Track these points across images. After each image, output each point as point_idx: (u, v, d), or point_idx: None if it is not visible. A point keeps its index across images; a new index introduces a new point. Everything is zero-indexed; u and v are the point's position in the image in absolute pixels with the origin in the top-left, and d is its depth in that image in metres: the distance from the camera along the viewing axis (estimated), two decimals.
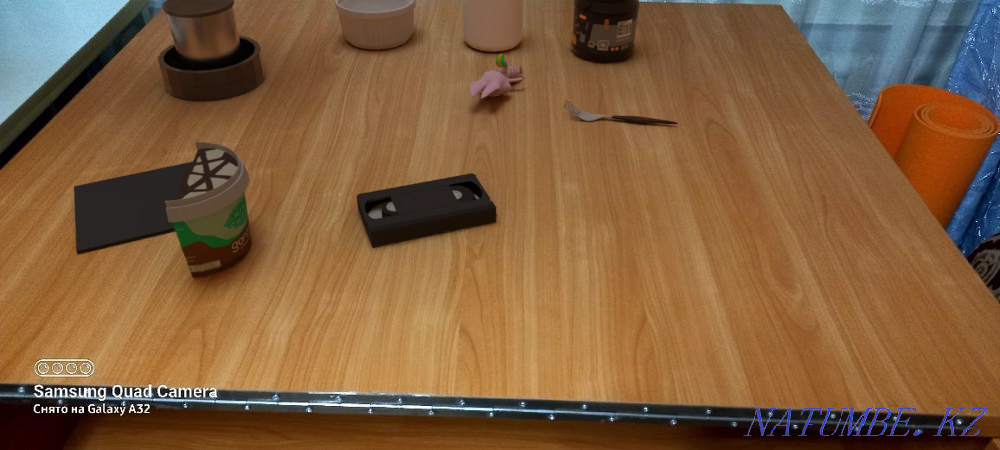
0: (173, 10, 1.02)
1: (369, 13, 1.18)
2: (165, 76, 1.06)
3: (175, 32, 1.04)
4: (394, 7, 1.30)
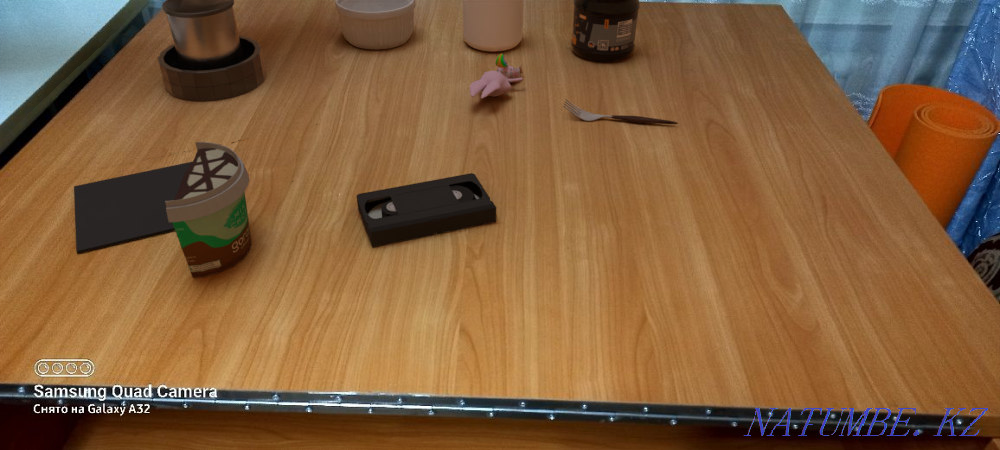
0: (173, 10, 1.02)
1: (369, 13, 1.18)
2: (165, 76, 1.06)
3: (175, 32, 1.04)
4: (394, 7, 1.30)
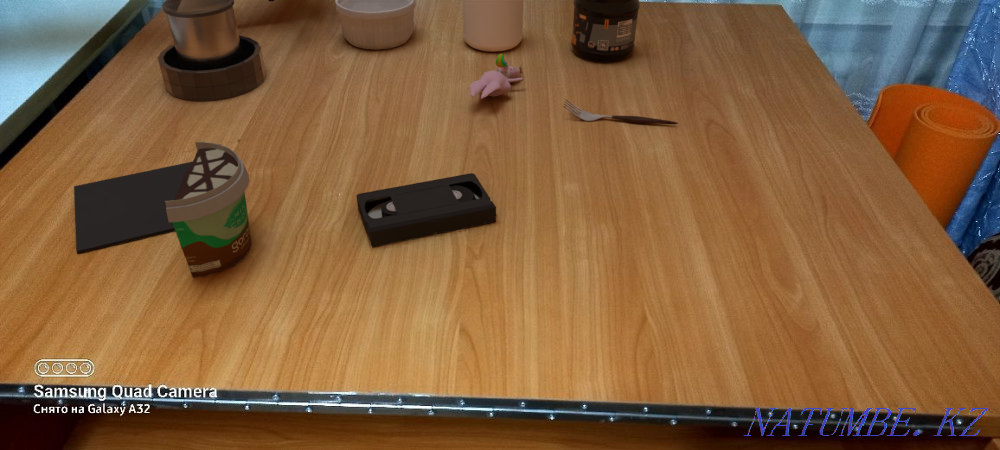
0: (173, 10, 1.02)
1: (369, 13, 1.18)
2: (165, 76, 1.06)
3: (175, 32, 1.04)
4: (394, 7, 1.30)
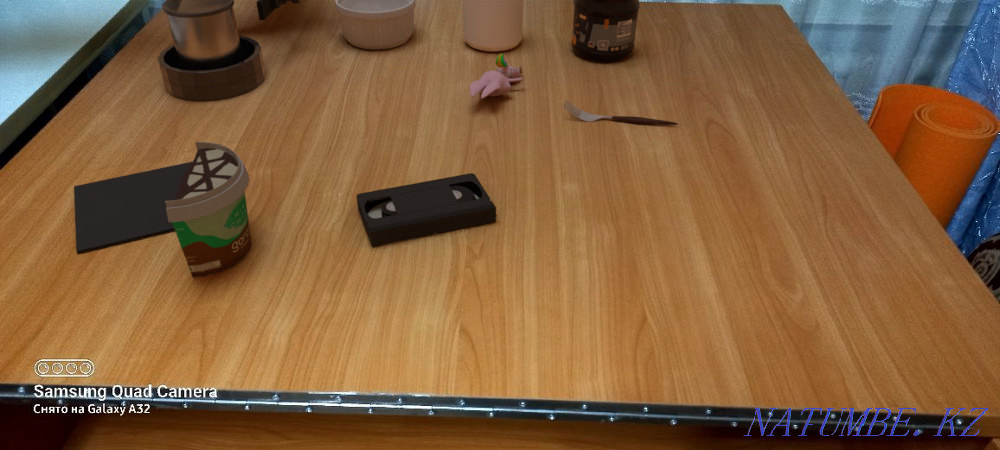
0: (173, 10, 1.02)
1: (369, 13, 1.18)
2: (165, 76, 1.06)
3: (175, 32, 1.04)
4: (394, 7, 1.30)
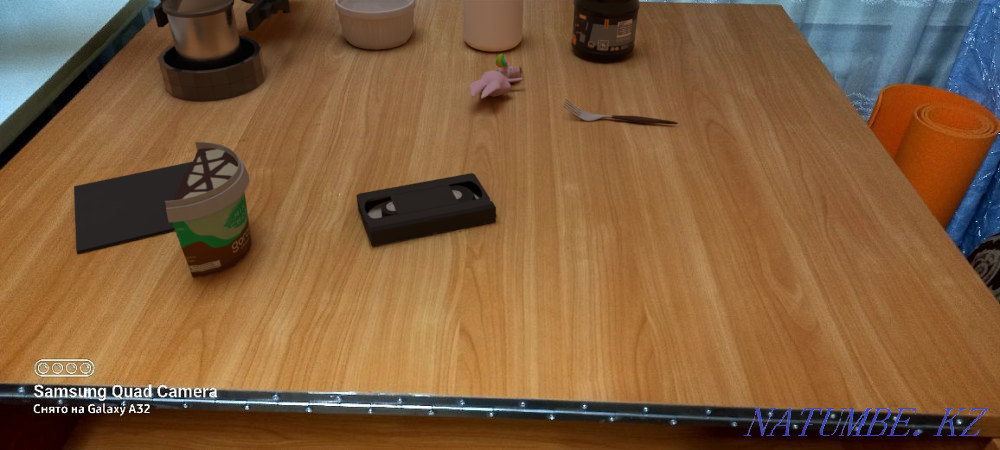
0: (173, 10, 1.02)
1: (369, 13, 1.18)
2: (165, 76, 1.06)
3: (175, 32, 1.04)
4: (394, 7, 1.30)
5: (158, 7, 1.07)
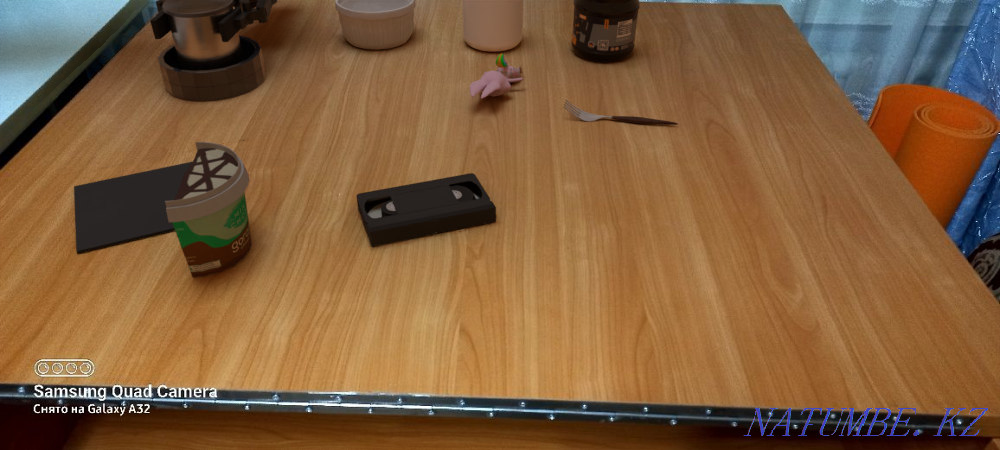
0: (173, 10, 1.02)
1: (369, 13, 1.18)
2: (165, 76, 1.06)
3: (175, 32, 1.04)
4: (394, 7, 1.30)
5: (155, 18, 1.03)
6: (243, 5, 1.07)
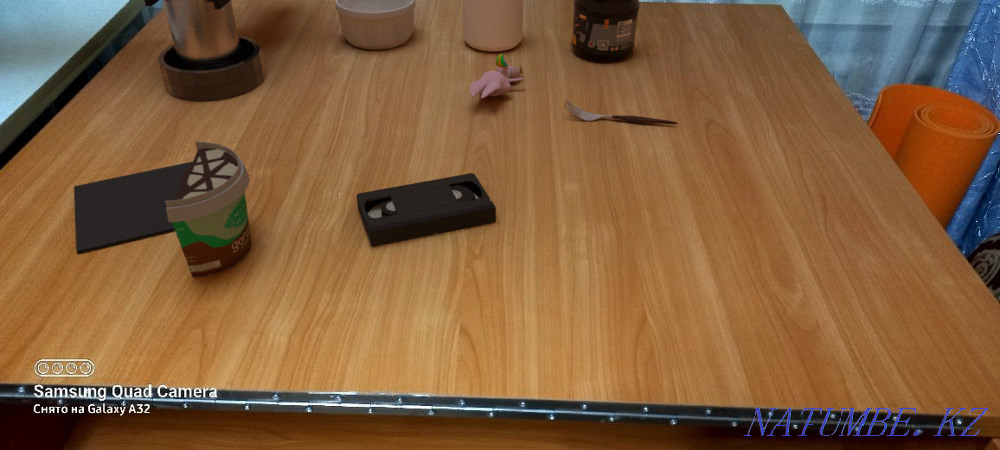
0: None
1: (369, 13, 1.18)
2: (165, 76, 1.06)
3: None
4: (394, 7, 1.30)
5: None
6: None
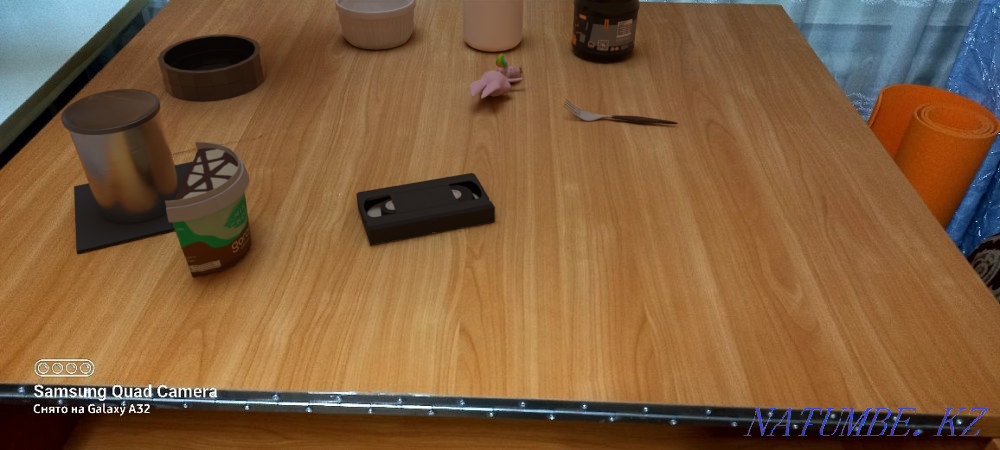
0: (74, 124, 0.76)
1: (369, 13, 1.18)
2: (165, 76, 1.06)
3: (79, 150, 0.78)
4: (394, 7, 1.30)
5: None
6: None
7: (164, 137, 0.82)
